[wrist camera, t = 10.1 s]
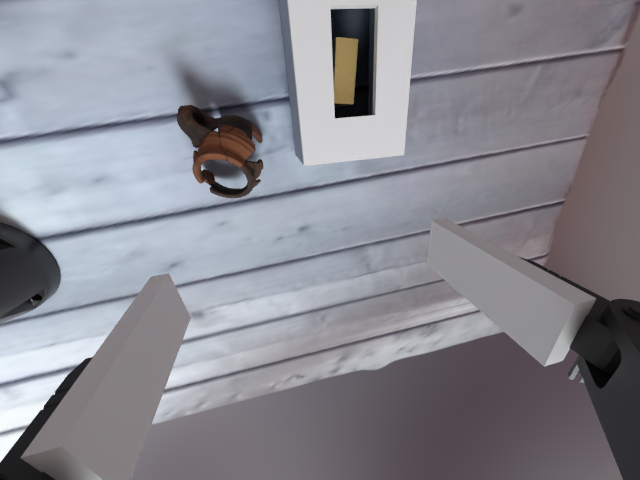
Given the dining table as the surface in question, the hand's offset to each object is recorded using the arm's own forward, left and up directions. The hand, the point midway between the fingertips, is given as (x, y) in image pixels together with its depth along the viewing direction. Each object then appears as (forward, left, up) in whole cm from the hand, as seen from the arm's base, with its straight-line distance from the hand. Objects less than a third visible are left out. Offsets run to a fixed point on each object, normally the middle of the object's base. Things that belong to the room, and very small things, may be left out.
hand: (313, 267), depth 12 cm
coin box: (+8, +11, -28) cm, 31 cm away
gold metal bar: (+8, +11, -28) cm, 31 cm away
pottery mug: (-8, +4, -28) cm, 29 cm away
